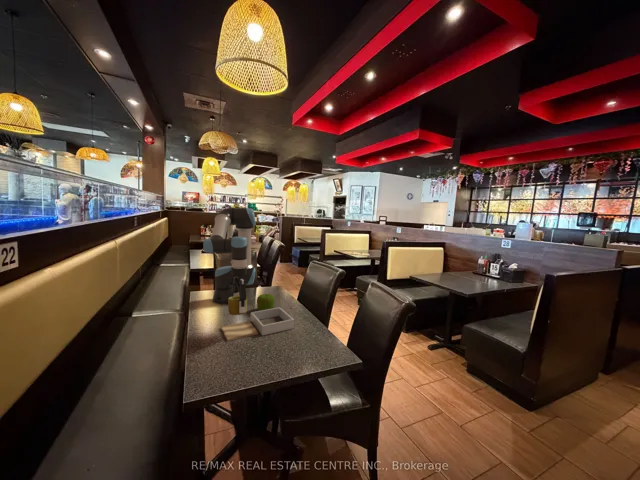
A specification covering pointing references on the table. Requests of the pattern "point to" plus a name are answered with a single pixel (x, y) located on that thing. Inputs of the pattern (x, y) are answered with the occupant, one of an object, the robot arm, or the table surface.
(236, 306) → the mug
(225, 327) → the board
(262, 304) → the apple
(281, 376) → the table surface
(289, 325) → the tub
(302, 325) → the table surface
